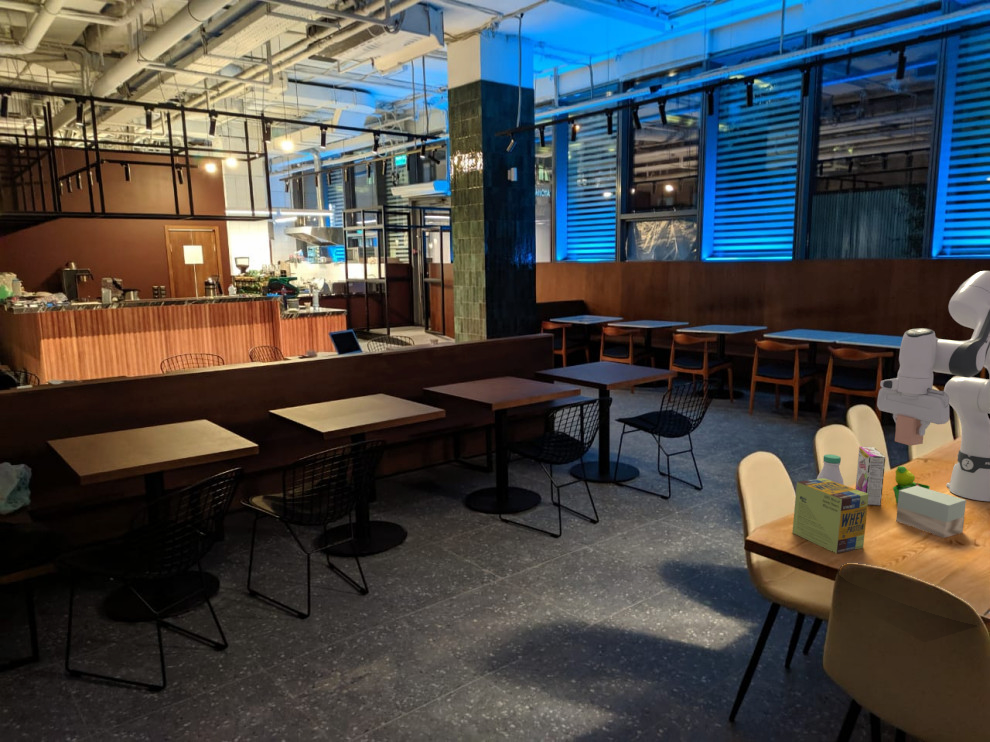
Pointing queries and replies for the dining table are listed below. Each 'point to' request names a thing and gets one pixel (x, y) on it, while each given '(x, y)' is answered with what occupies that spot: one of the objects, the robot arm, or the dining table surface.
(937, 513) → the tower top
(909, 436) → the block
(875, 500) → the candy bar box
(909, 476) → the green toy figure
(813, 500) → the protein box
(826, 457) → the milk bottle
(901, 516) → the tower base
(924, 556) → the dining table surface
